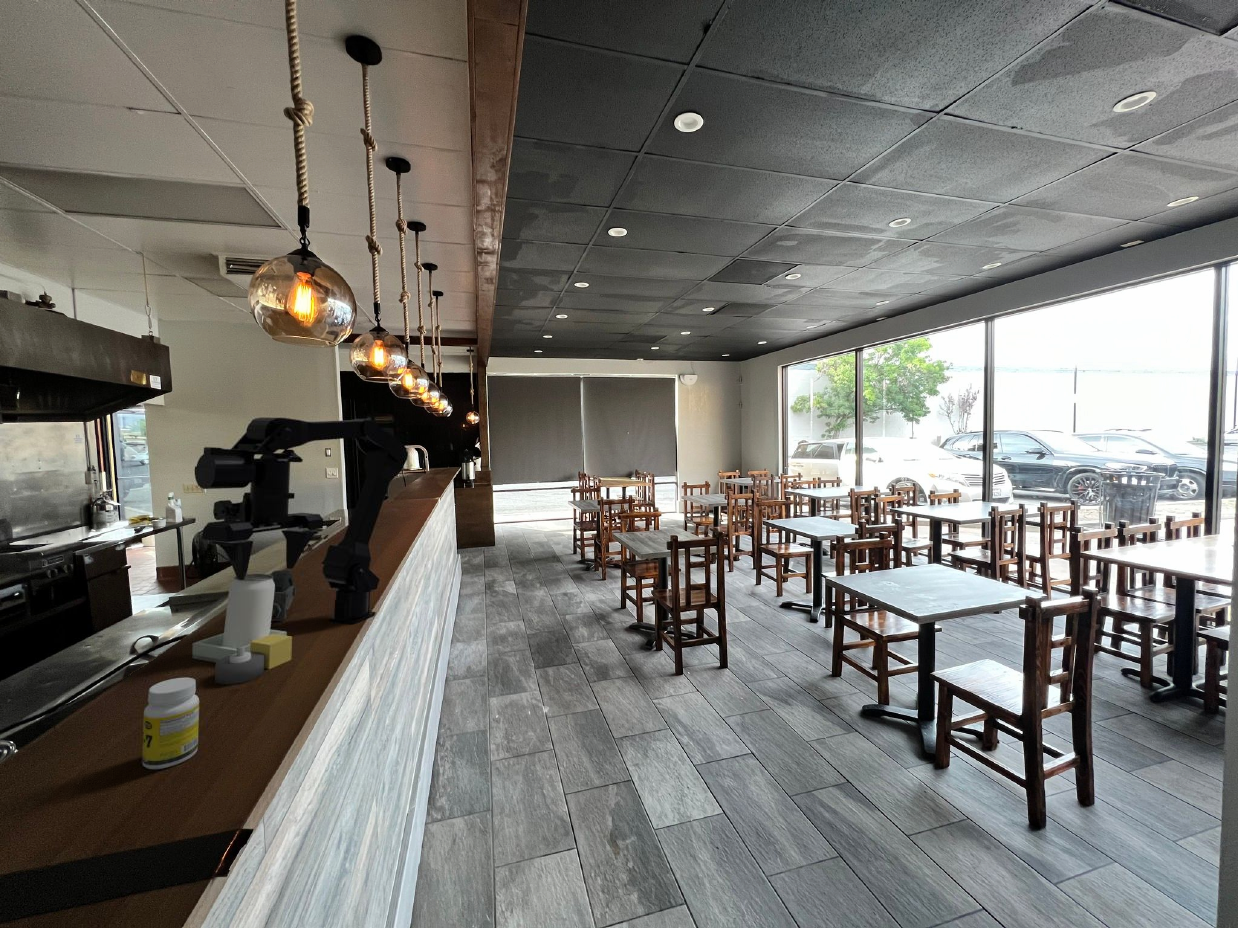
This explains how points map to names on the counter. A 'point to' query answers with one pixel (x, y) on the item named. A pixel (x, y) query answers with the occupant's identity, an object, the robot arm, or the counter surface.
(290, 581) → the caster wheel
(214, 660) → the tray
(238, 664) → the trolley wheel
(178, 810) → the counter surface
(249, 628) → the can
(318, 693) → the counter surface
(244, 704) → the counter surface
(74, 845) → the counter surface
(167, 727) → the supplement bottle
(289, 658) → the yellow cube
